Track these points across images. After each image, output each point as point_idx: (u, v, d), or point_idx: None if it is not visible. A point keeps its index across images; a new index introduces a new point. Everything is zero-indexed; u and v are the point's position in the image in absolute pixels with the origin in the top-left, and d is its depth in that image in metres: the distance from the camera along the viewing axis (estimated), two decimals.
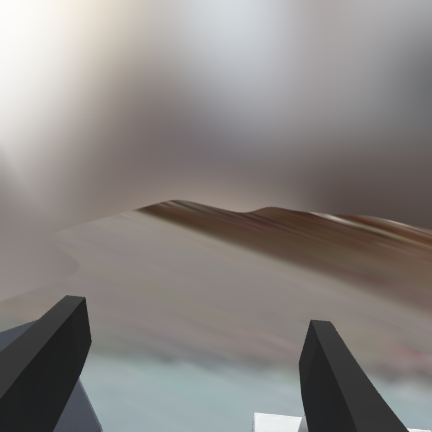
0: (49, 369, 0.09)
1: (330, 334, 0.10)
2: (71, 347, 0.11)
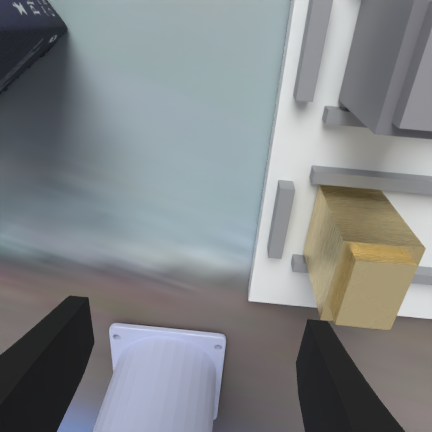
0: (53, 369, 0.09)
1: (327, 334, 0.10)
2: (74, 347, 0.11)
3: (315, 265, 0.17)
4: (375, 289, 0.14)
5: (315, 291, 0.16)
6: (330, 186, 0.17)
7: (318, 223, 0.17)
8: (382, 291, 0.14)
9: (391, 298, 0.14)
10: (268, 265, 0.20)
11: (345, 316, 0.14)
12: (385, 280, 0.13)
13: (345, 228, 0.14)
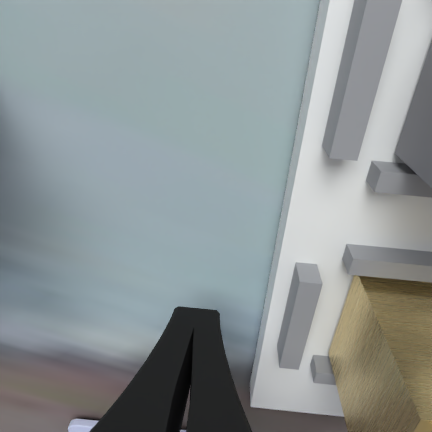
0: (182, 383, 0.09)
1: (208, 322, 0.10)
2: (190, 359, 0.11)
3: (353, 399, 0.11)
4: None
5: None
6: None
7: (357, 334, 0.11)
8: None
9: None
10: (278, 367, 0.15)
11: None
12: None
13: (417, 382, 0.08)
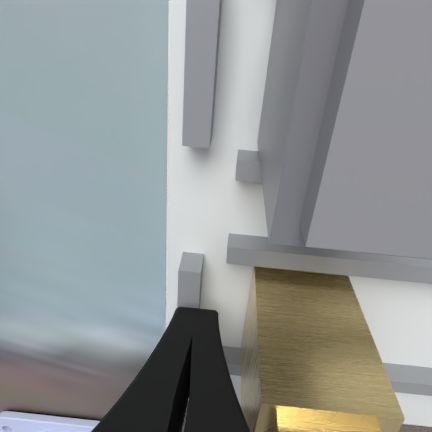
0: (183, 383, 0.09)
1: (207, 322, 0.10)
2: None
3: (244, 389, 0.11)
4: None
5: None
6: None
7: (250, 324, 0.11)
8: None
9: None
10: None
11: None
12: None
13: (271, 368, 0.08)
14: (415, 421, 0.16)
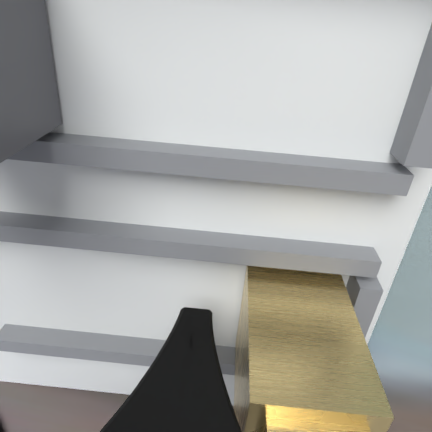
0: None
1: (200, 321, 0.10)
2: None
3: (237, 388, 0.11)
4: None
5: None
6: None
7: (242, 323, 0.11)
8: None
9: None
10: None
11: None
12: None
13: (261, 367, 0.08)
14: None
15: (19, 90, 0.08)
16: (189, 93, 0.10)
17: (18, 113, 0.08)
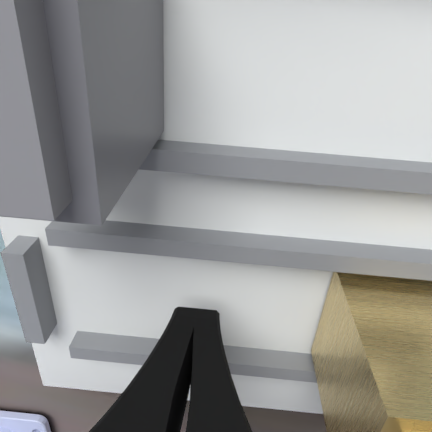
0: (182, 383, 0.09)
1: (208, 322, 0.10)
2: (190, 359, 0.11)
3: (331, 397, 0.11)
4: None
5: None
6: None
7: (335, 331, 0.11)
8: None
9: None
10: (51, 344, 0.15)
11: None
12: None
13: (387, 378, 0.08)
14: (291, 407, 0.16)
15: (147, 98, 0.08)
16: (299, 98, 0.09)
17: (146, 122, 0.08)
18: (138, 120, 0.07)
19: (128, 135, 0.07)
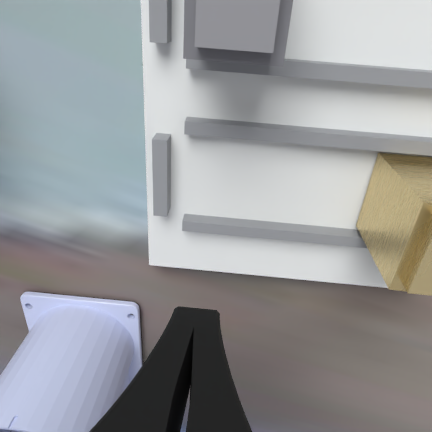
0: (182, 383, 0.09)
1: (208, 322, 0.10)
2: (190, 359, 0.11)
3: (377, 235, 0.16)
4: None
5: (379, 262, 0.16)
6: (390, 154, 0.17)
7: (380, 192, 0.16)
8: None
9: None
10: (162, 226, 0.20)
11: (420, 284, 0.14)
12: None
13: (421, 191, 0.13)
14: (336, 279, 0.21)
15: None
16: (362, 26, 0.15)
17: None
18: None
19: None
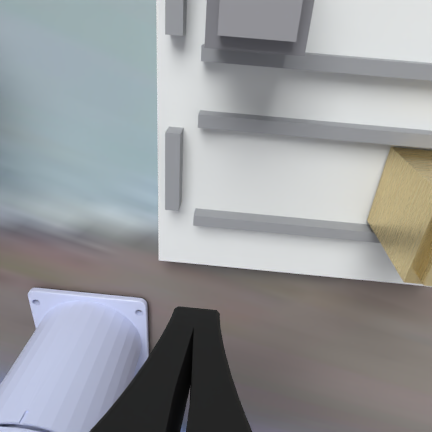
0: (182, 383, 0.09)
1: (208, 322, 0.10)
2: (190, 359, 0.11)
3: (390, 229, 0.16)
4: None
5: (392, 255, 0.16)
6: (403, 148, 0.17)
7: (393, 186, 0.16)
8: None
9: None
10: (172, 221, 0.20)
11: None
12: None
13: None
14: (346, 274, 0.21)
15: None
16: (377, 20, 0.15)
17: None
18: None
19: None
